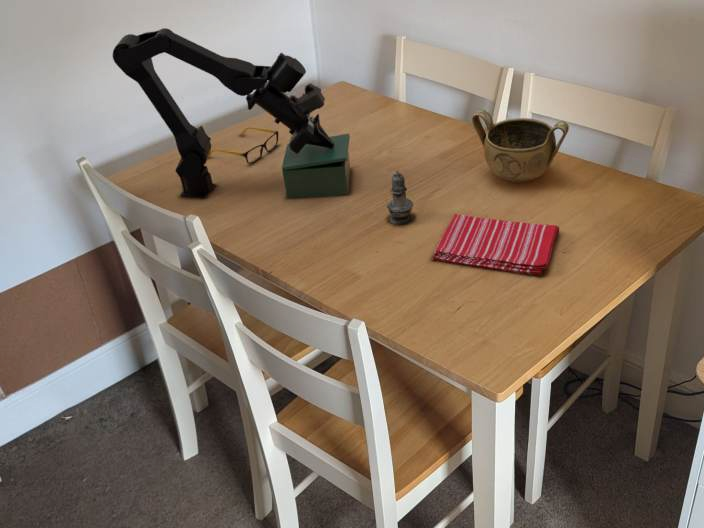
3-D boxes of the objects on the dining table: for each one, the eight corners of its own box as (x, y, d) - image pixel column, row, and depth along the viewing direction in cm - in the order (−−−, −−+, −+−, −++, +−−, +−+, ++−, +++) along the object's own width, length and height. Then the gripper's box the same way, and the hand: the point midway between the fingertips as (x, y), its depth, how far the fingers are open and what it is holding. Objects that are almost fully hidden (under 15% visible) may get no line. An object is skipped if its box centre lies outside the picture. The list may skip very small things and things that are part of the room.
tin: (350, 169, 199) (347, 142, 195) (348, 194, 189) (344, 167, 185) (292, 173, 200) (288, 146, 196) (287, 198, 190) (282, 171, 186)
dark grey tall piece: (395, 228, 176) (391, 179, 169) (383, 216, 180) (378, 169, 173) (418, 220, 178) (416, 171, 170) (406, 209, 182) (402, 161, 175)
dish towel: (545, 278, 157) (545, 266, 156) (430, 261, 165) (430, 250, 163) (561, 232, 169) (562, 221, 168) (454, 219, 177) (454, 208, 175)
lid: (349, 136, 194) (349, 133, 193) (347, 160, 184) (346, 157, 183) (288, 146, 196) (287, 143, 195) (282, 170, 186) (281, 167, 185)
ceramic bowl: (461, 184, 189) (460, 125, 180) (487, 152, 200) (487, 95, 191) (552, 200, 180) (556, 139, 171) (574, 166, 192) (579, 107, 182)
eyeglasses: (249, 168, 204) (246, 153, 202) (207, 157, 211) (203, 143, 208) (283, 144, 213) (280, 130, 211) (241, 135, 220) (238, 121, 217)
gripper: (296, 96, 171) (352, 140, 177) (304, 64, 186) (356, 105, 192) (266, 132, 176) (322, 174, 183) (276, 98, 191) (327, 138, 197)
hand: (333, 146), depth 188 cm, fingers closed
